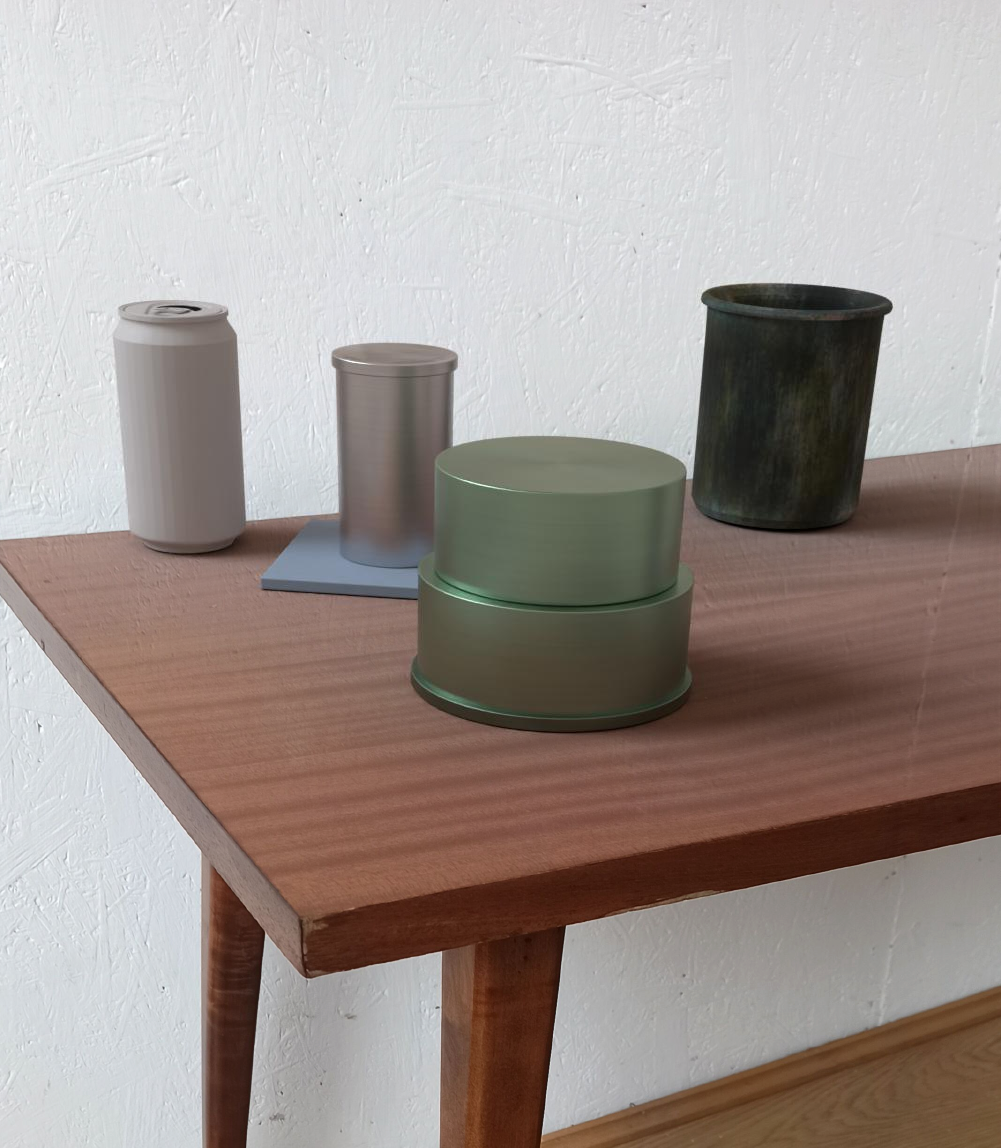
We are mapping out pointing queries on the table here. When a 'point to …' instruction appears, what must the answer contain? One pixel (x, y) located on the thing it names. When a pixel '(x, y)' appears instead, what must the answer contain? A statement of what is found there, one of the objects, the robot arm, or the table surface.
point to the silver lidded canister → (390, 448)
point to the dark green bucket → (785, 402)
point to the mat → (333, 568)
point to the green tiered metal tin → (555, 585)
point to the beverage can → (180, 424)
